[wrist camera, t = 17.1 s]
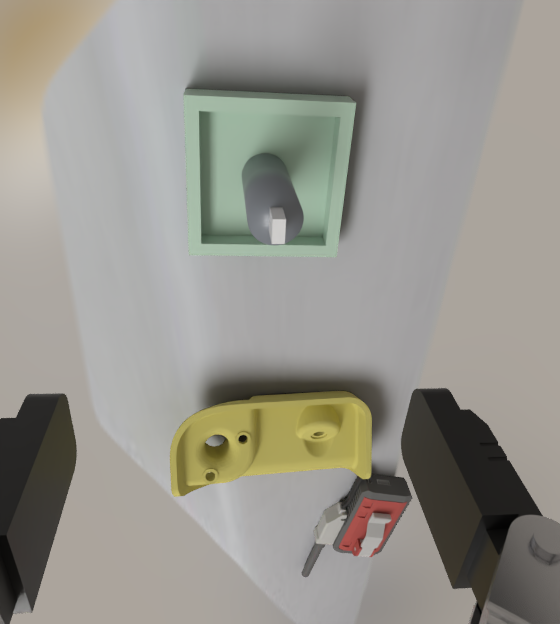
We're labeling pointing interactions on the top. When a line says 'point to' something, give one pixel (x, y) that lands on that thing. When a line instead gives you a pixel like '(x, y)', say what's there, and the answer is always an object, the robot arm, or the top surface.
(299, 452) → the plastic component
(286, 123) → the tray
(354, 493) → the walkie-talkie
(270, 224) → the grey bottle white cap
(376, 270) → the top surface
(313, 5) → the top surface
